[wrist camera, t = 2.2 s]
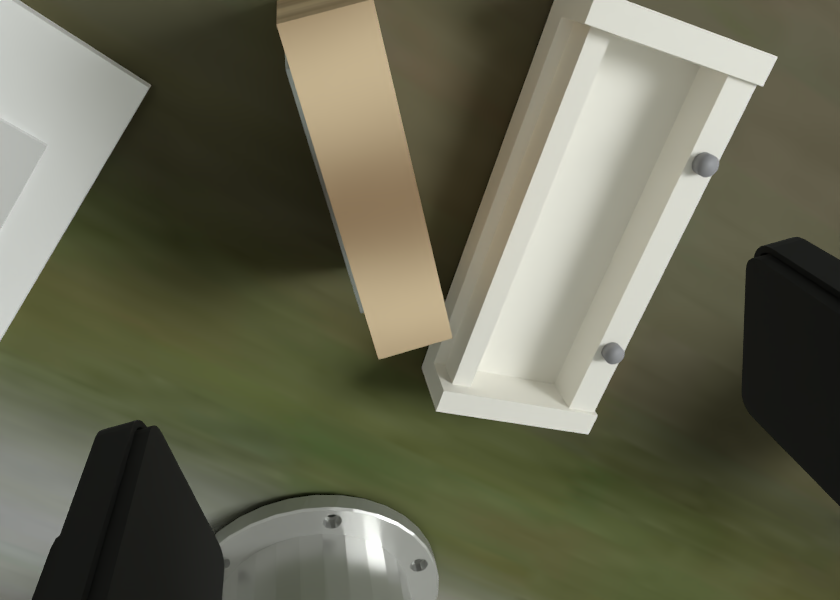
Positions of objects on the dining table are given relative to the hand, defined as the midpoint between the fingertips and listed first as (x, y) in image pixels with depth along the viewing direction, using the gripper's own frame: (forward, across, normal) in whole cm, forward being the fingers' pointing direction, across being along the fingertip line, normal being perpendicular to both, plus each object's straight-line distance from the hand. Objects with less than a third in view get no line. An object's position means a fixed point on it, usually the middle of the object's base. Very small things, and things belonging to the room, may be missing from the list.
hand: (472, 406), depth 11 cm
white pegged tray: (+16, -7, +5) cm, 19 cm away
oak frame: (+16, 0, 0) cm, 17 cm away
